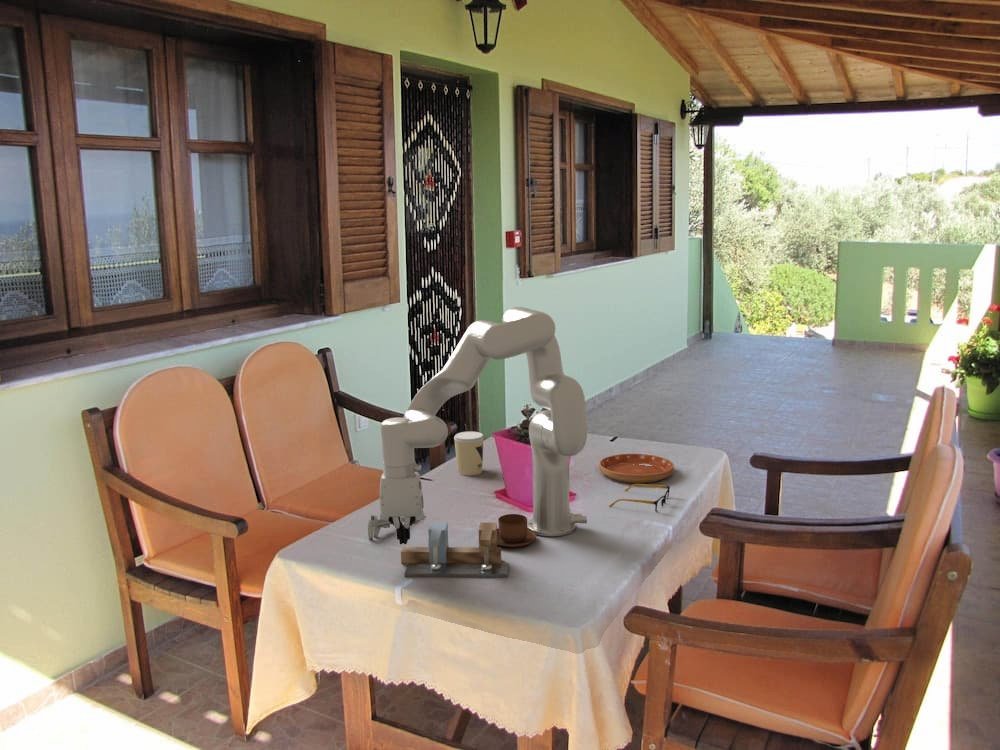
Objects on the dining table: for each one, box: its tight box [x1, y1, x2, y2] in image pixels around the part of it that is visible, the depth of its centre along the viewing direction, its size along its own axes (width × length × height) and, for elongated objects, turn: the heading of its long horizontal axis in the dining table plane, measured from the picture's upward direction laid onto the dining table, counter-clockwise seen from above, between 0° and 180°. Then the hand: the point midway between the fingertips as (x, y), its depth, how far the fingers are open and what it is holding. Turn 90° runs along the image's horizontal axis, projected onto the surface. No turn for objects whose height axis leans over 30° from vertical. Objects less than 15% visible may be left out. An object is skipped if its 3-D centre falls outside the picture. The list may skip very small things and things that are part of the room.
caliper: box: [367, 514, 426, 540], centre depth 246 cm, size 21×1×6 cm, turn 142°
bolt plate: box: [403, 563, 510, 578], centre depth 218 cm, size 24×6×2 cm, turn 87°
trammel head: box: [427, 521, 449, 564], centre depth 221 cm, size 4×11×9 cm, turn 177°
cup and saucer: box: [497, 513, 538, 548], centre depth 235 cm, size 12×12×6 cm
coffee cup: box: [453, 431, 485, 477], centre depth 291 cm, size 9×9×12 cm
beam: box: [400, 522, 502, 565], centre depth 220 cm, size 24×11×9 cm, turn 87°
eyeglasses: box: [608, 483, 671, 512], centre depth 262 cm, size 14×14×4 cm
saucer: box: [598, 453, 675, 484], centre depth 287 cm, size 23×23×4 cm
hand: (403, 541), depth 224 cm, fingers closed
